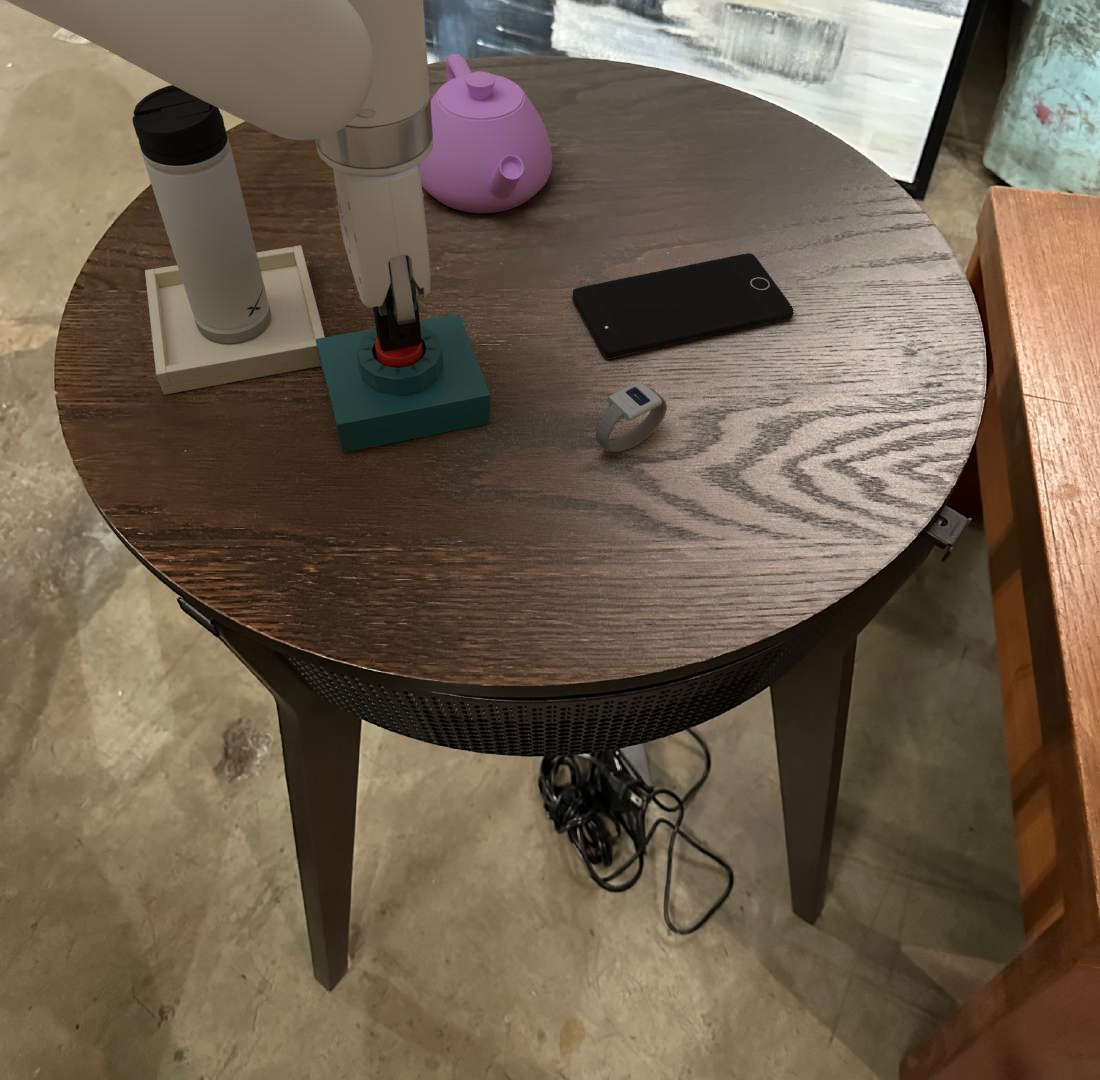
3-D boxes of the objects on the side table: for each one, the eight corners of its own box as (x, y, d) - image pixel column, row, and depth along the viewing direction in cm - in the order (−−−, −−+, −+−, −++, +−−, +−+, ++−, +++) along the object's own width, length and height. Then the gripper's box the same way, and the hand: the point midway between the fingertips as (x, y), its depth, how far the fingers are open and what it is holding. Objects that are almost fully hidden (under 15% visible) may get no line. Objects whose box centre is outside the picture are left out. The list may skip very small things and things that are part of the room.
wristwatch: (609, 470, 80) (613, 425, 76) (587, 448, 81) (591, 403, 77) (669, 437, 82) (677, 391, 78) (647, 416, 84) (654, 371, 80)
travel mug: (282, 334, 87) (230, 112, 71) (204, 352, 86) (133, 130, 70) (266, 289, 91) (214, 69, 75) (191, 306, 89) (120, 84, 73)
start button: (382, 378, 80) (380, 362, 78) (373, 348, 82) (370, 331, 80) (427, 370, 81) (426, 353, 79) (417, 340, 83) (416, 323, 81)
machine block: (342, 453, 80) (333, 407, 76) (321, 367, 86) (312, 321, 82) (491, 423, 83) (489, 377, 79) (460, 342, 88) (458, 296, 84)
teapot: (446, 256, 95) (439, 152, 87) (393, 141, 107) (382, 39, 98) (585, 230, 99) (591, 127, 90) (519, 121, 110) (519, 20, 101)
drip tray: (163, 395, 84) (155, 374, 82) (152, 290, 91) (144, 269, 90) (330, 364, 86) (326, 343, 84) (305, 265, 94) (301, 244, 92)
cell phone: (794, 319, 91) (796, 311, 90) (605, 361, 87) (605, 353, 86) (750, 259, 96) (752, 251, 95) (570, 296, 92) (570, 288, 91)
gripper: (295, 71, 69) (335, 290, 83) (334, 199, 60) (370, 418, 75) (405, 56, 70) (425, 274, 85) (458, 179, 62) (470, 398, 76)
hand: (399, 341), depth 80 cm, fingers closed
